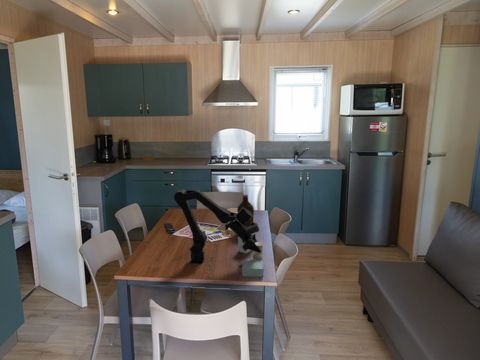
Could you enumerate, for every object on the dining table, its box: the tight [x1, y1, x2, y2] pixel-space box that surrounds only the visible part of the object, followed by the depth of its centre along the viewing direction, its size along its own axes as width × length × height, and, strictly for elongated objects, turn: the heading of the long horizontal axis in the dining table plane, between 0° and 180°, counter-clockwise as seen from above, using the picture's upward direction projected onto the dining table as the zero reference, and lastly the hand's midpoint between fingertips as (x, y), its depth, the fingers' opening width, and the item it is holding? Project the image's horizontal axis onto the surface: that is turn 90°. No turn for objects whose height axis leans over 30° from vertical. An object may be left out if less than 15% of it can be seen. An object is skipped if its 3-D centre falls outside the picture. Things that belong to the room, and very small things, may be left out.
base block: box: [241, 259, 264, 278], centre depth 167 cm, size 10×10×4 cm
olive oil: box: [236, 194, 255, 227], centre depth 221 cm, size 11×11×25 cm
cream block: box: [252, 241, 264, 261], centre depth 177 cm, size 5×5×10 cm
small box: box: [237, 233, 255, 254], centre depth 193 cm, size 8×6×10 cm
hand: (260, 250), depth 177 cm, fingers closed on cream block, 5 cm apart
